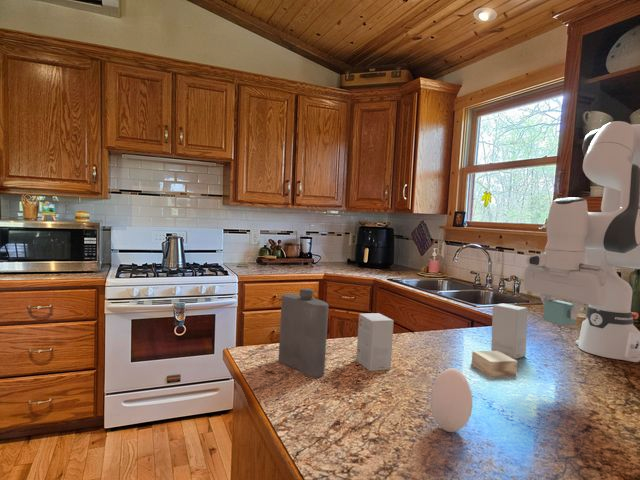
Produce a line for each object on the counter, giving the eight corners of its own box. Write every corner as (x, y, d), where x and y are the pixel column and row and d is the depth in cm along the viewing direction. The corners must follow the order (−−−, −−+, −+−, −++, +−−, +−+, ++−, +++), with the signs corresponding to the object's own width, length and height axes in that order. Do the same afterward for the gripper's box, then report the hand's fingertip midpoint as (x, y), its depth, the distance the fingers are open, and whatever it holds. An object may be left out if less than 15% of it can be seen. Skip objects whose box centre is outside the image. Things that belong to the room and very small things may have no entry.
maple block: (496, 364, 114) (498, 350, 113) (516, 376, 106) (517, 361, 105) (471, 365, 112) (472, 351, 112) (489, 376, 104) (490, 361, 104)
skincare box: (525, 356, 121) (530, 308, 120) (514, 359, 118) (518, 309, 117) (500, 348, 128) (504, 302, 127) (488, 350, 125) (492, 303, 124)
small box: (391, 369, 104) (394, 320, 103) (369, 371, 102) (372, 321, 101) (376, 358, 112) (379, 312, 111) (355, 360, 109) (358, 313, 109)
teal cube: (556, 318, 106) (558, 300, 106) (575, 324, 101) (576, 304, 101) (543, 320, 104) (544, 301, 104) (561, 325, 100) (563, 305, 99)
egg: (442, 416, 80) (446, 358, 80) (477, 432, 75) (482, 371, 74) (420, 427, 76) (425, 366, 75) (456, 446, 70) (461, 380, 69)
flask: (330, 374, 99) (335, 293, 98) (313, 380, 95) (318, 295, 93) (291, 356, 109) (295, 283, 108) (274, 361, 105) (278, 285, 104)
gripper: (615, 267, 93) (610, 325, 94) (537, 256, 112) (533, 305, 113) (597, 267, 91) (592, 327, 92) (521, 256, 110) (517, 306, 111)
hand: (559, 315), depth 103 cm, fingers closed on teal cube, 5 cm apart
